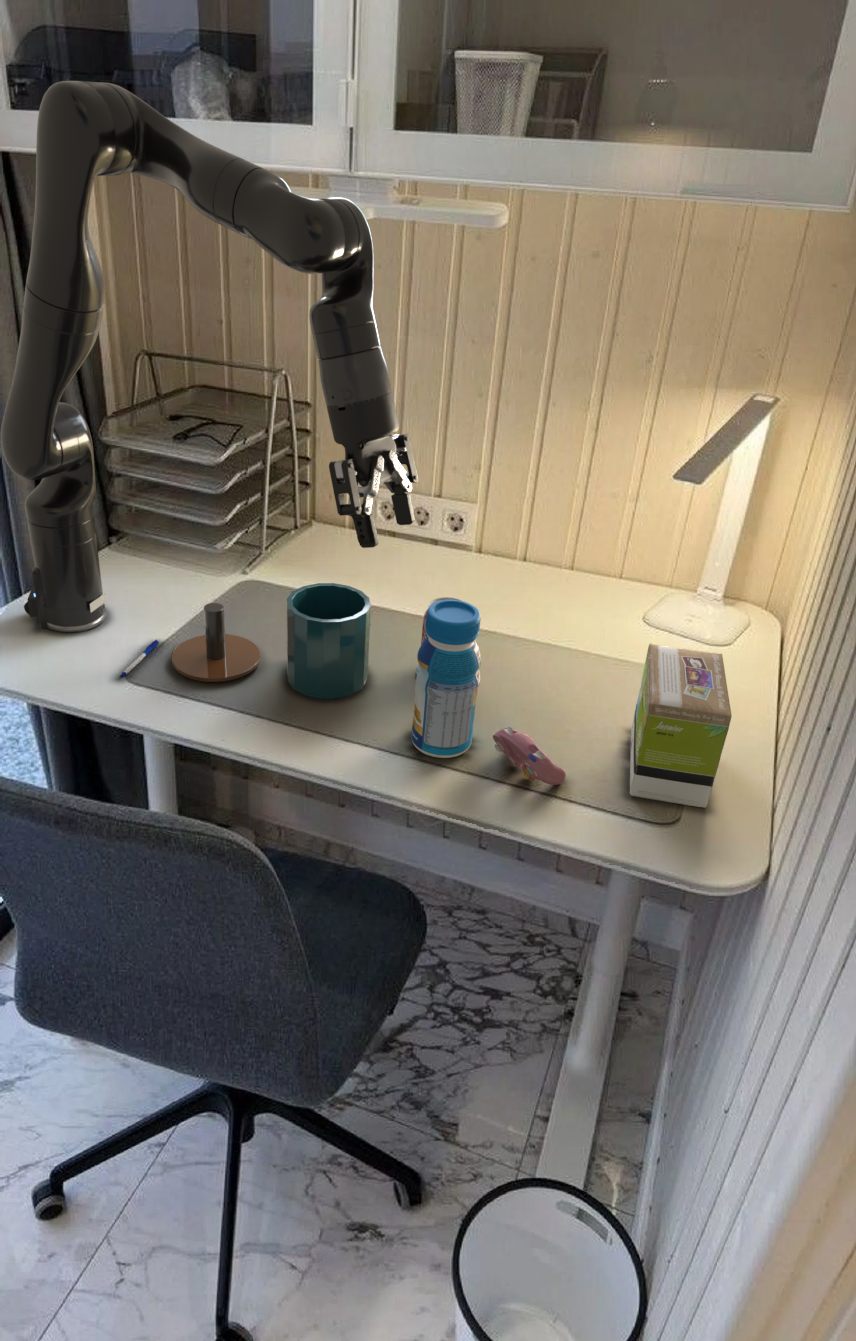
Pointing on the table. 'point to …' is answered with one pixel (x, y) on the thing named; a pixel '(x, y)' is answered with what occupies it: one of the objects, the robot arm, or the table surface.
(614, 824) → the table surface
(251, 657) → the jug lid
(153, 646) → the ballpoint pen
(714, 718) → the tea box
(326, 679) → the teal cup
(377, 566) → the table surface
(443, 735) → the beverage bottle
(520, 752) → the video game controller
